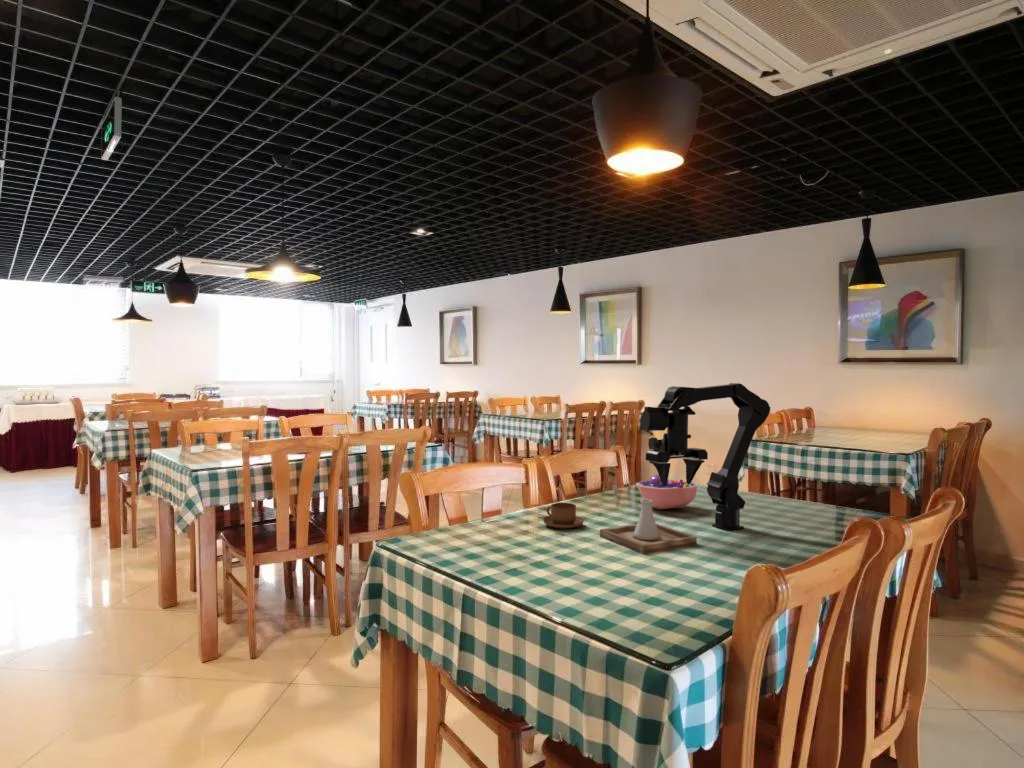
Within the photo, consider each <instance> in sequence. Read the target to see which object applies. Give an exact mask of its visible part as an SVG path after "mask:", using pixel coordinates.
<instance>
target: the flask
mask: <svg viewBox="0 0 1024 768" xmlns="http://www.w3.org/2000/svg"><path fill="white" fill-rule="evenodd" d="M652 502H653V500H647V499H644V498H643V499H641V500H640V505H641V508H640V514H639V518H638V521H637V523H636V524H637V526H636V528H635V531H634V533H633V536H632V537H635V538H637V539H642V540H656V539H659V538H660V533H659V531H658V528H657V525H656V524H657V523H656V520H655V517H654V514H653V509H652V508H653V507H652Z"/></svg>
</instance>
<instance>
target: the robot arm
mask: <svg viewBox="0 0 1024 768" xmlns="http://www.w3.org/2000/svg"><path fill="white" fill-rule="evenodd" d="M727 398H730V399H731V400H732V403H733V404H734V405H735V406H736V407H737V408H738V413H737V418H738V419H737V420H738V425H737V429H736V430H735V433H734V436H733V438H732V441H731V442H730V443H731V444H730V446H729V449H728V451H727V454H726V456H725V459H724V462H722V463H723V464H722V467H721V468H720V470H718V471H717V472H715V471H714V472H713V471H712V472H711V473H710V476H709V479H708V482H706V485H707V488H706V492H707V494H708V496H709V497H710V500H711V501H712V504H714V505H716V506H715V512H714V515H715V516H714V517H715V520H714V522H715V523H711V526H712V527H715V528H719V529H721V530H726V531H734V530H740V529H744V527H745V526H744V525H742V524H741V525H740V522H741V521H740V520H741V519H740V518H741V517H740V516H741V515H740V513H741V512H740V511H741V510H744V507H745V505H746V501H745V500H744V499H743V497H742V496H740V495H739V493H738V492H739V487H740V481H739V473H740V471H741V469H742V466H743V463H744V461H745V458H746V456H747V454H748V450H749V448H750V445H752V441H753V438H754V435H755V433H756V431H757V430H758V429H759V428H760V427H762V425H763V424H765V422H766V420H767V418H768V417H769V415H770V412H771V406H770V403H769V402H768V400H766V399H764V398H761V397H760V396H759V395H758V394H756V393H755V392H752V391H751V390H749V389H748V388H747V387H746V386H745V385H743V384H742V383H739V382H733V383H732V382H731V383H728V384H721V385H720V384H719V385H712V386H711V385H710V386H701V387H689V386H688V387H687V386H669V387H667V389H666V391H665V393H664V396H663V398H662V399H661V401H660V402H659V403H658V404H657V406H644V409H643V411H642V413H641V417H640V427H641V429H642V431H645V432H646V431H647V432H648V431H649V432H650V431H651V432H653V431H655V432H656V431H657V432H658V431H660V432H661V431H665V430H666V429H667V430H666V433H664V434H663V437H662V439H658V438H657V437H650V438H648V442H647V443H648V445H647V446H648V450H647V451H646V453H645V461H648V463H649V464H651V465H653V466H654V467H655V469H656V471H657V475H659V478H660V480H661V483H662V486H664V487H666V485H667V481H668V480H669V479H668V478H669V474H670V469H671V463H670V460H671V459H682V460H683V462H684V463H685V480H686V481H685V482H687V484H691V483H693V480H694V478H695V476H696V473H697V472H698V470H699V469H700V467H701V466H702V464H703V463H705V460H708V451H707V450H706V448H705V449H704V448H698V447H688V443H689V439H691V438H692V434H689V433H688V432H689V429H688V428H689V416H695V415H696V412H695V411H694V410H693V409H692V408H691V406H693V405H696V404H697V403H700V402H703V401H710V400H720V399H727Z"/></svg>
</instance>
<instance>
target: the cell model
mask: <svg viewBox="0 0 1024 768" xmlns="http://www.w3.org/2000/svg"><path fill="white" fill-rule="evenodd" d="M635 485H636V487H637V489H638V491H639V492H640V494H641V496H642V498H643V500H644V499H647V500H653V502H652V508H654V509H657V510H668V509H680V508H681V509H682V508H685V507H686V506H688V505H689V504H691V503H692V502H693V501H694V500H695V499H696V496H697V492H698V491H697V490H698V485H697V484H696V483H693V482H691V484H687V482H686V481H683V479H679V480H675V479H668V481H667V485H666V487H664V486H662V483H661V480H660V477H659V474H655V475H653V476H651V477H650V478H649V480H641V481H638V482H636V483H635Z"/></svg>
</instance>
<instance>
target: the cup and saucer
mask: <svg viewBox="0 0 1024 768" xmlns="http://www.w3.org/2000/svg"><path fill="white" fill-rule="evenodd" d="M549 511H550V512H549ZM576 511H577V506H576V504H574V503H571V502H554V503H552V504H551V505H549V506H547V507H546V513H547V515H548V516H545V517H544V518H543V519H542V520H543V523H544V524H545V525H546V526H548V527H551V528H554V529H555V528H556V529H565V530H567V529H573V528H574V529H575V528H577V527H580V526H582V525H583V523H584V519H583V517H579V516H577V515H576V513H577V512H576Z"/></svg>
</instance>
